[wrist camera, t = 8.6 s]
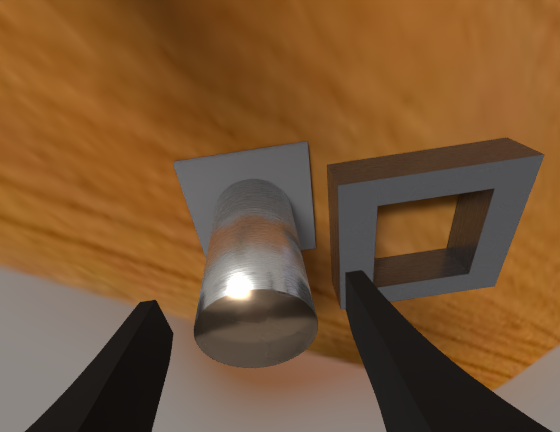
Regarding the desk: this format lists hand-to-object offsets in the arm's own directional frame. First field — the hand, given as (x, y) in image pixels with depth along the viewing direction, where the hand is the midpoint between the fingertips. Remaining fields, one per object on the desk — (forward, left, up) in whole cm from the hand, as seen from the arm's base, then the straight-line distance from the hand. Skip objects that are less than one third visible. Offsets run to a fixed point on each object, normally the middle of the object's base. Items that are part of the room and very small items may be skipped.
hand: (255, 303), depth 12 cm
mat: (0, 0, -7) cm, 7 cm away
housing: (-9, +3, -7) cm, 12 cm away
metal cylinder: (0, 0, -7) cm, 7 cm away
